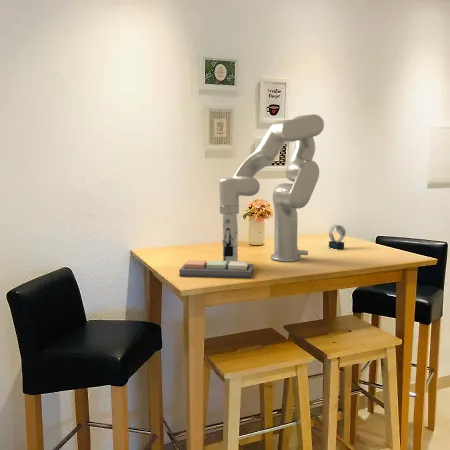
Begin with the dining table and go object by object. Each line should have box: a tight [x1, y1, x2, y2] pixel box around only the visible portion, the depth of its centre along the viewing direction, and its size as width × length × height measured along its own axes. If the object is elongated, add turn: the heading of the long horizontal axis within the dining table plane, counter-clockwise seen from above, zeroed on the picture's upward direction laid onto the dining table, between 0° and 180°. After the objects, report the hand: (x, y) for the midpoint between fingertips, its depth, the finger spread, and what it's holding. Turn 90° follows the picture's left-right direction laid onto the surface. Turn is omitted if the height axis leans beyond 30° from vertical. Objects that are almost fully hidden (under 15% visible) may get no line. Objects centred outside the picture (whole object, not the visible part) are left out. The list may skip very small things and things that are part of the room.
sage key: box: [206, 260, 227, 269], centre depth 185 cm, size 7×7×2 cm
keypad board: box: [178, 261, 254, 279], centre depth 185 cm, size 26×12×2 cm, turn 82°
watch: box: [328, 224, 347, 250], centre depth 228 cm, size 6×8×11 cm
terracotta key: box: [184, 259, 207, 269], centre depth 186 cm, size 7×7×2 cm
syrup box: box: [221, 230, 239, 263], centre depth 197 cm, size 6×6×14 cm
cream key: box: [228, 260, 249, 270], centre depth 184 cm, size 7×7×2 cm
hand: (230, 253), depth 197 cm, fingers closed on syrup box, 6 cm apart
